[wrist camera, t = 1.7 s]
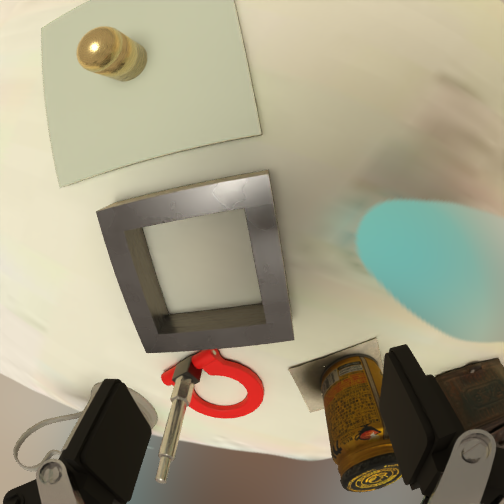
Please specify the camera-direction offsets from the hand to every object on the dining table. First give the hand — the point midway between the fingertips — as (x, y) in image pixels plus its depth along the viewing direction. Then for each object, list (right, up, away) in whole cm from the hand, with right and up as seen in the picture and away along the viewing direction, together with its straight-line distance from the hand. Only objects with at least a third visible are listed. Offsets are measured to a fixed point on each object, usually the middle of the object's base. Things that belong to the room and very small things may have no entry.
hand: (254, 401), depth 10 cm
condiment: (+9, -7, +18) cm, 21 cm away
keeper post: (-9, +18, +7) cm, 22 cm away
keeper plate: (-9, +19, +9) cm, 22 cm away
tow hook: (-3, -8, +19) cm, 20 cm away
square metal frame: (-4, +4, +14) cm, 15 cm away
